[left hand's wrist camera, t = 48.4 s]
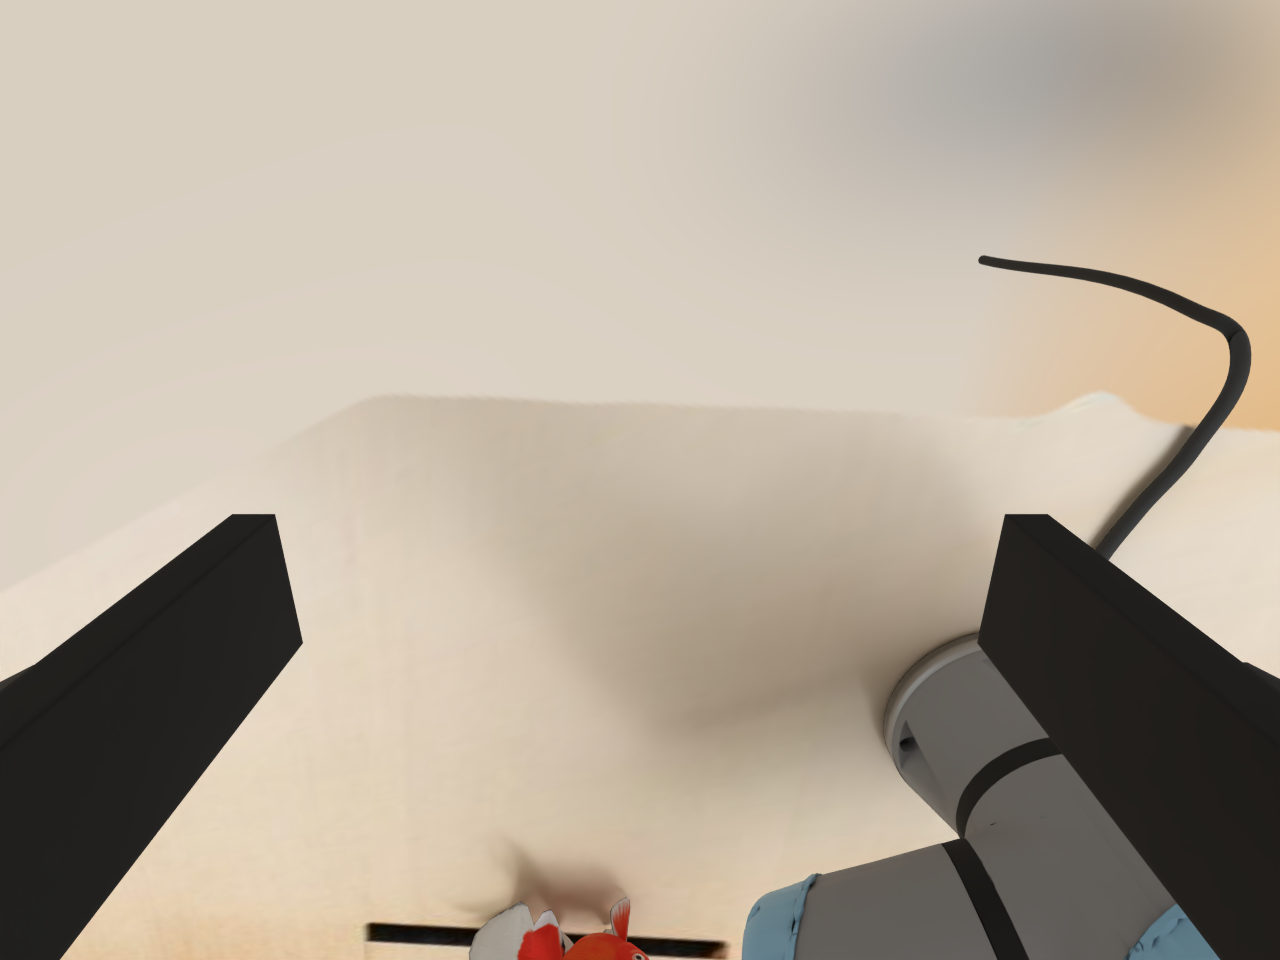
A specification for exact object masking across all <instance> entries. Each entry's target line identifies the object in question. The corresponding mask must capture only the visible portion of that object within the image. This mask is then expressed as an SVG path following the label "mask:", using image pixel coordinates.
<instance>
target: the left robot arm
mask: <svg viewBox="0 0 1280 960" xmlns="http://www.w3.org/2000/svg"><path fill="white" fill-rule="evenodd" d="M978 262H979V263H980V264H982V265H986V266H990V267H995V268H1001V269H1007V270H1014V271H1020V272H1028V273H1036V274H1044V275H1052V276H1059V277H1067V278H1073V279H1079V280H1085V281H1090V282H1095V283H1100V284H1104V285H1108V286H1112V287H1116V288H1119V289H1123V290H1126V291H1129V292H1132V293H1135V294H1138V295H1141V296H1143V297H1146V298H1148V299H1151V300H1153V301H1156V302H1158V303H1160V304H1163V305H1165V306H1167V307H1169V308H1171V309H1173V310H1175V311H1177V312H1179V313H1181V314H1183V315H1185V316H1187V317H1189V318H1191V319H1193V320H1195V321H1198V322H1200V323H1202V324H1205V325H1207V326H1210V327H1212V328H1214V329H1216V330H1218V331H1219V332H1221V333H1222V334H1223V335H1224V337H1225V338H1226V340H1227V342H1228V345H1229V349H1230V367H1229V373H1228V376H1227V380H1226V382H1225V385H1224V387H1223V389H1222V391H1221V393H1220V395H1219V397H1218V398H1217V400H1216V401H1215V403H1214V405H1213V406H1212V408H1211V409H1210V410H1209V412H1208V413H1207V415H1206V416H1205V417H1204V419H1203V420H1202V421H1201V423H1200V424H1199V425H1198V427H1197V428H1196V429H1195V431H1194V432H1193V433H1192V435H1191V436H1190V438H1189V439H1188V440H1187V442H1186V443H1185V445H1184V446H1183V447H1182V449H1181V450H1180V452H1179V453H1178V454H1177V455H1176V457H1175V458H1174V459H1173V460H1172V462H1171V463H1170V464H1169V465H1168V466H1167V467H1166V468H1165V469H1164V471H1163V472H1162V473H1161V474H1160V475H1159V476H1158V477H1157V478H1156V479H1155V480H1154V481H1153V482H1152V483H1151V484H1150V485H1149V486H1148V487H1147V488H1146V489H1145V490H1144V491H1143V492H1142V493H1141V495H1140V496H1139V497H1138V498H1137V499H1136V500H1135V501H1134V502H1133V504H1132V505H1131V506H1130V507H1129V508H1128V510H1127V511H1126V512H1125V513H1124V514H1123V516H1122V517H1121V518H1120V519H1119V521H1118V522H1117V523H1116V524H1115V525H1114V527H1113V528H1112V529H1111V530H1110V532H1109V533H1108V534H1107V535H1106V537H1105V538H1104V539H1103V541H1102V542H1101V543H1100V545H1099V546H1098V547H1097V549H1096V550H1094V549H1093V548H1091V547H1090V546H1089V545H1087V544H1086V543H1085V542H1083V541H1082V540H1081V539H1080V538H1078V537H1077V536H1076V535H1074V534H1073V533H1072V532H1070V531H1069V530H1068V529H1066V528H1065V527H1064V526H1062V525H1061V524H1060V523H1058V522H1057V521H1056V520H1055V519H1053V518H1052V517H1051V516H1049V515H1048V514H1005V517H1004V521H1003V526H1002V531H1001V535H1000V540H999V544H998V549H997V554H996V558H995V563H994V567H993V572H992V577H991V581H990V586H989V590H988V595H987V600H986V604H985V609H984V613H983V618H982V623H981V627H980V632H979V633H976V634H972V635H968V636H965V637H962V638H959V639H956V640H954V641H952V642H949V643H947V644H945V645H943V646H941V647H939V648H937V649H936V650H934V651H932V652H931V653H929V654H928V655H926V656H925V657H924V658H922V659H921V660H920V661H919V662H917V663H916V664H915V665H914V666H913V667H912V668H911V669H910V670H909V671H908V672H907V673H906V674H905V675H904V677H903V678H902V679H901V680H900V682H899V683H898V685H897V686H896V688H895V689H894V691H893V693H892V695H891V697H890V699H889V702H888V704H887V708H886V711H885V717H884V737H885V741H886V745H887V747H888V750H889V752H890V755H891V757H892V759H893V761H894V763H895V766H896V768H897V770H898V771H899V773H900V775H901V776H902V778H903V779H904V781H905V782H906V783H907V784H908V785H909V786H910V787H911V788H912V789H913V790H914V791H915V792H916V793H917V794H918V795H919V796H920V797H921V798H922V799H923V800H924V801H925V802H926V803H927V804H928V805H929V806H930V807H931V808H932V809H933V810H934V811H935V812H936V813H937V814H938V815H939V816H940V817H941V818H942V819H943V820H944V821H945V822H946V823H947V824H948V825H949V826H950V827H951V828H952V829H953V830H954V831H955V832H956V833H957V834H958V836H959V838H960V839H956V840H953V841H949V842H945V843H941V844H936V845H933V846H929V847H925V848H922V849H918V850H915V851H911V852H907V853H904V854H900V855H896V856H893V857H889V858H886V859H882V860H878V861H875V862H871V863H867V864H863V865H859V866H855V867H851V868H847V869H843V870H839V871H835V872H832V873H828V874H824V875H822V874H817V873H816V874H812V875H810V876H809V877H808V878H807V879H806V880H805V881H802V882H799V883H796V884H794V885H791V886H788V887H785V888H782V889H779V890H776V891H772V892H770V893H768V894H765V895H764V896H762V897H761V898H760V899H759V900H758V901H757V902H756V903H755V904H754V906H753V907H752V909H751V911H750V914H749V915H748V918H747V923H746V928H745V930H744V936H743V946H742V960H1280V679H1279V678H1277V677H1275V676H1273V675H1271V674H1269V673H1267V672H1265V671H1263V670H1261V669H1259V668H1257V667H1255V666H1253V665H1251V664H1249V663H1247V662H1241V661H1240V660H1238V659H1237V658H1236V657H1235V656H1233V655H1232V654H1231V653H1229V652H1228V651H1227V650H1225V649H1224V648H1223V647H1221V646H1220V645H1219V644H1217V643H1216V642H1215V641H1214V640H1212V639H1211V638H1210V637H1208V636H1207V635H1206V634H1204V633H1203V632H1202V631H1200V630H1199V629H1198V628H1196V627H1195V626H1194V625H1192V624H1191V623H1190V622H1189V621H1187V620H1186V619H1185V618H1183V617H1182V616H1181V615H1179V614H1178V613H1177V612H1175V611H1174V610H1173V609H1171V608H1170V607H1169V606H1168V605H1166V604H1165V603H1164V602H1162V601H1161V600H1160V599H1158V598H1157V597H1156V596H1154V595H1153V594H1152V593H1150V592H1149V591H1148V590H1147V589H1145V588H1144V587H1143V586H1141V585H1140V584H1139V583H1137V582H1136V581H1135V580H1133V579H1132V578H1131V577H1129V576H1128V575H1127V574H1125V573H1124V572H1123V571H1122V570H1120V569H1119V568H1118V567H1116V566H1115V565H1114V564H1112V563H1111V562H1110V561H1108V560H1109V559H1110V558H1111V556H1112V555H1113V553H1114V552H1115V551H1116V549H1117V548H1118V547H1119V546H1120V544H1121V543H1122V542H1123V541H1124V539H1125V538H1126V537H1127V536H1128V535H1129V533H1130V532H1131V531H1132V530H1133V529H1134V527H1135V526H1136V525H1137V524H1138V523H1139V521H1140V520H1141V519H1142V518H1143V517H1144V515H1145V514H1146V513H1147V512H1148V511H1149V510H1150V508H1151V507H1152V506H1153V505H1154V504H1155V503H1156V502H1157V501H1158V500H1159V499H1160V498H1161V497H1162V496H1163V495H1164V494H1165V493H1166V492H1167V491H1168V490H1169V489H1170V488H1171V487H1172V486H1173V485H1174V484H1175V483H1176V481H1177V480H1178V479H1179V478H1180V477H1181V476H1182V475H1183V474H1184V473H1185V472H1186V471H1187V469H1188V468H1189V467H1190V466H1191V465H1192V463H1193V462H1194V461H1195V460H1196V458H1197V457H1198V456H1199V454H1200V453H1201V451H1202V450H1203V449H1204V447H1205V446H1206V444H1207V443H1208V442H1209V440H1210V439H1211V438H1212V436H1213V435H1214V434H1215V433H1216V431H1217V430H1218V429H1219V427H1220V426H1221V425H1222V423H1223V422H1224V421H1225V419H1226V418H1227V417H1228V415H1229V414H1230V412H1231V411H1232V409H1233V408H1234V406H1235V405H1236V403H1237V401H1238V400H1239V398H1240V396H1241V394H1242V392H1243V390H1244V387H1245V385H1246V383H1247V379H1248V376H1249V372H1250V366H1251V346H1250V342H1249V338H1248V336H1247V333H1246V331H1245V330H1244V329H1243V327H1242V326H1241V325H1240V324H1238V323H1237V322H1236V321H1235V320H1233V319H1232V318H1230V317H1229V316H1227V315H1225V314H1223V313H1220V312H1218V311H1215V310H1213V309H1210V308H1207V307H1205V306H1202V305H1200V304H1198V303H1196V302H1194V301H1192V300H1189V299H1187V298H1185V297H1183V296H1181V295H1179V294H1176V293H1174V292H1172V291H1169V290H1167V289H1164V288H1162V287H1159V286H1156V285H1154V284H1151V283H1148V282H1145V281H1141V280H1138V279H1135V278H1131V277H1128V276H1124V275H1119V274H1115V273H1111V272H1106V271H1100V270H1094V269H1089V268H1081V267H1074V266H1065V265H1056V264H1045V263H1035V262H1025V261H1016V260H1009V259H1002V258H996V257H990V256H986V255H982V256H980V257H979V259H978ZM302 644H303V641H302V637H301V632H300V627H299V623H298V618H297V613H296V609H295V604H294V600H293V595H292V590H291V586H290V581H289V577H288V572H287V567H286V563H285V558H284V554H283V549H282V544H281V540H280V535H279V531H278V526H277V521H276V517H275V514H232V515H231V516H229V517H228V518H227V519H225V520H224V521H223V522H222V523H220V524H219V525H218V526H216V527H215V528H214V529H212V530H211V531H210V532H208V533H207V534H206V535H204V536H203V537H202V538H200V539H199V540H198V541H197V542H195V543H194V544H193V545H191V546H190V547H189V548H187V549H186V550H185V551H183V552H182V553H181V554H179V555H178V556H177V557H176V558H174V559H173V560H172V561H170V562H169V563H168V564H166V565H165V566H164V567H162V568H161V569H160V570H158V571H157V572H156V573H155V574H153V575H152V576H151V577H149V578H148V579H147V580H145V581H144V582H143V583H141V584H140V585H139V586H137V587H136V588H135V589H133V590H132V591H131V592H130V593H128V594H127V595H126V596H124V597H123V598H122V599H120V600H119V601H118V602H116V603H115V604H114V605H112V606H111V607H110V608H109V609H107V610H106V611H105V612H103V613H102V614H101V615H99V616H98V617H97V618H95V619H94V620H93V621H91V622H90V623H89V624H88V625H86V626H85V627H84V628H82V629H81V630H80V631H78V632H77V633H76V634H74V635H73V636H72V637H70V638H69V639H68V640H66V641H65V642H64V643H63V644H61V645H60V646H59V647H57V648H56V649H55V650H53V651H52V652H51V653H49V654H48V655H47V656H45V657H44V658H43V659H42V660H40V661H39V662H38V663H36V664H35V665H33V666H31V667H29V668H27V669H25V670H23V671H21V672H19V673H17V674H15V675H13V676H11V677H9V678H7V679H5V680H3V681H1V682H0V960H60V959H61V958H62V956H63V955H64V954H65V952H66V951H67V950H68V948H69V947H70V946H71V945H72V943H73V942H74V941H75V939H76V938H77V937H78V935H79V934H80V933H81V932H82V930H83V929H84V928H85V926H86V925H87V924H88V922H89V921H90V920H91V918H92V917H93V916H94V915H95V913H96V912H97V911H98V909H99V908H100V907H101V905H102V904H103V903H104V902H105V900H106V899H107V898H108V896H109V895H110V894H111V892H112V891H113V890H114V889H115V887H116V886H117V885H118V883H119V882H120V881H121V879H122V878H123V877H124V875H125V874H126V873H127V872H128V870H129V869H130V868H131V866H132V865H133V864H134V862H135V861H136V860H137V859H138V857H139V856H140V855H141V853H142V852H143V851H144V849H145V848H146V847H147V846H148V844H149V843H150V842H151V840H152V839H153V838H154V836H155V835H156V834H157V832H158V831H159V830H160V829H161V827H162V826H163V825H164V823H165V822H166V821H167V819H168V818H169V817H170V816H171V814H172V813H173V812H174V810H175V809H176V808H177V806H178V805H179V804H180V803H181V801H182V800H183V799H184V797H185V796H186V795H187V793H188V792H189V791H190V790H191V788H192V787H193V786H194V784H195V783H196V782H197V780H198V779H199V778H200V776H201V775H202V774H203V773H204V771H205V770H206V769H207V767H208V766H209V765H210V763H211V762H212V761H213V760H214V758H215V757H216V756H217V754H218V753H219V752H220V750H221V749H222V748H223V747H224V745H225V744H226V743H227V741H228V740H229V739H230V737H231V736H232V735H233V733H234V732H235V731H236V730H237V728H238V727H239V726H240V724H241V723H242V722H243V720H244V719H245V718H246V717H247V715H248V714H249V713H250V711H251V710H252V709H253V707H254V706H255V705H256V704H257V702H258V701H259V700H260V698H261V697H262V696H263V694H264V693H265V692H266V691H267V689H268V688H269V687H270V685H271V684H272V683H273V681H274V680H275V679H276V677H277V676H278V675H279V674H280V672H281V671H282V670H283V668H284V667H285V666H286V664H287V663H288V662H289V661H290V659H291V658H292V657H293V655H294V654H295V653H296V651H297V650H298V649H299V648H300V646H301V645H302Z"/></svg>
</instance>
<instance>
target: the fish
mask: <svg viewBox="0 0 1280 960" xmlns="http://www.w3.org/2000/svg"><path fill="white" fill-rule="evenodd" d="M629 914H630V901H629V899H628V898H627V897H626V898H624V899H622V900H620V901H619V902H618V903H616V904H615V905H614V906H613V907H612V909H611V911H610V915H611V925H612V929H606V930H605V931H604V932H603V933H593V934H590V935H587V936H585V937H583V938H581V939H580V940H579V941H577V942H576V943H575V944H574V945H573V943H572V942H571V940H570V939H569V938H568V937H567V936H566V935H565V934H564V933H563V932H562V931H561V930H560V927H559V924H558V922H557V920H556V918H555V916H554V914H553V912H552V910H551V909H550V910H547V911H544V912H543V913H542V915H541V916H540V917H539V919H538V920H537V922H536V923H535V924H534V922H533V919H532V917H531V914H530V911H529V908H528V906H527V905H526V904H524V903H522V902H519V903H517V904H515V905H514V906H512V907H511V908H509V909H507V910H505V911H503V912H501V913H499V914H498V915H496V916H495V917H493V918H492V919H490V920H489V921H488V922H487V923H486V924H485V925H484V926H483V927H482V928H481V929H480V930H479V931H478V932H477V933H476V935H475V937H474V940H473V943H472V946H471V948H470V951H469V960H649V958H648V956H647V955H646V954H644V953H643V952H642V951H641V950H640V949H638V948H637V947H636V946H634V945H633V944H631V943H630V942H627V931H628V923H629ZM564 954H565V955H564Z"/></svg>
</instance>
